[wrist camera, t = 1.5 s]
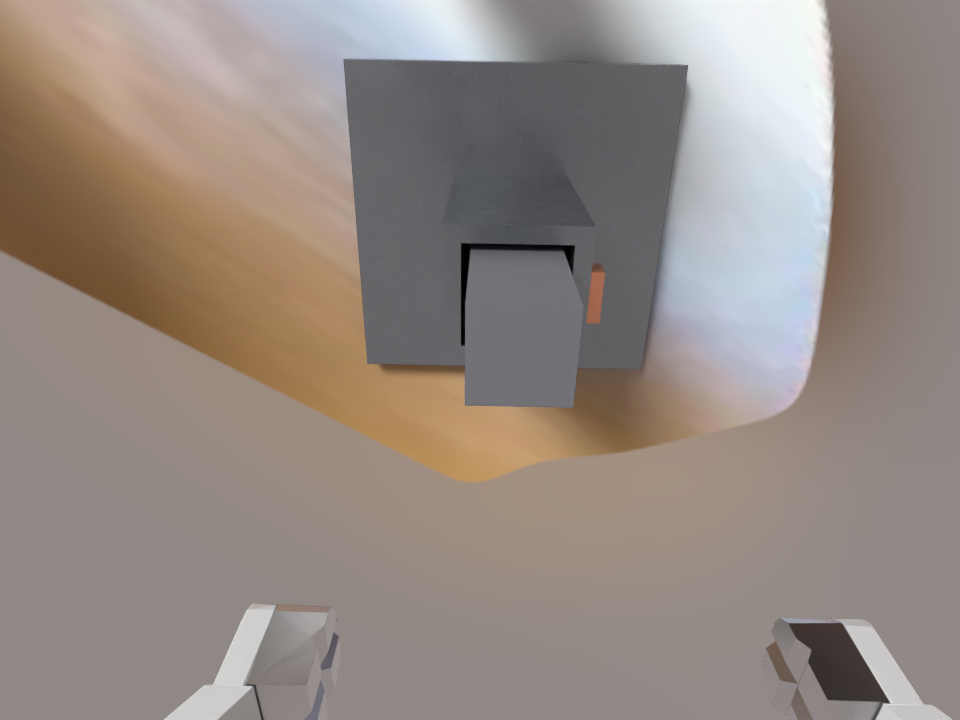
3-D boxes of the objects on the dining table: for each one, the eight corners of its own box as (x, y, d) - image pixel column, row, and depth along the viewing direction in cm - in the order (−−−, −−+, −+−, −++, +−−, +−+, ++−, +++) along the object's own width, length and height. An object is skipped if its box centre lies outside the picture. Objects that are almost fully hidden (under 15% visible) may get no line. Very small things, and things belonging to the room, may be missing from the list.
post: (473, 266, 37) (462, 407, 23) (473, 196, 35) (462, 301, 21) (542, 268, 37) (575, 410, 23) (547, 197, 35) (587, 304, 21)
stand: (371, 353, 42) (330, 460, 31) (349, 58, 33) (283, 65, 23) (636, 358, 41) (686, 468, 31) (680, 64, 33) (769, 74, 23)
